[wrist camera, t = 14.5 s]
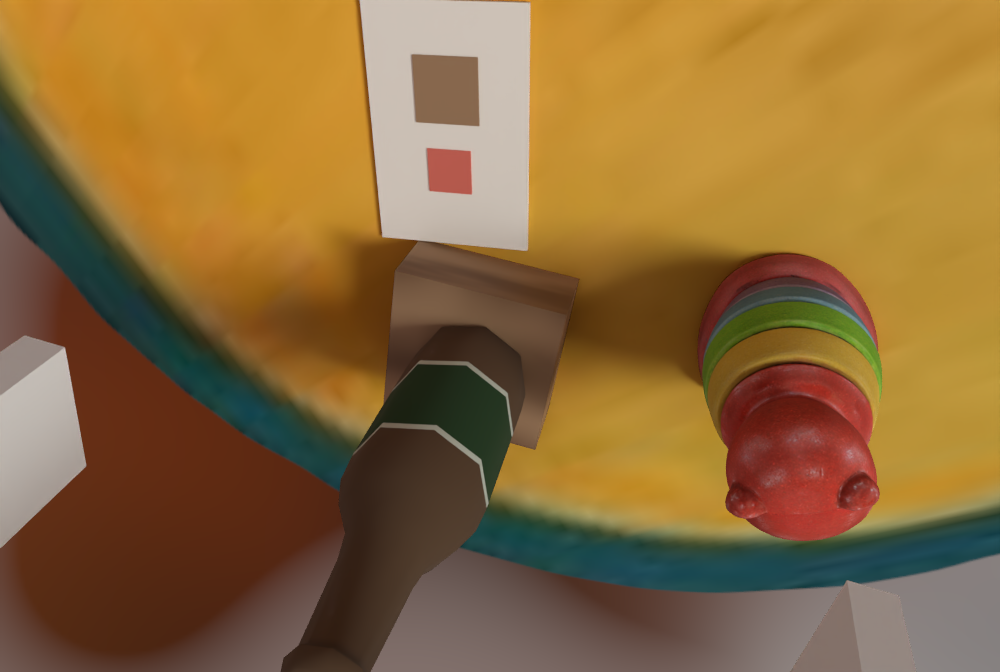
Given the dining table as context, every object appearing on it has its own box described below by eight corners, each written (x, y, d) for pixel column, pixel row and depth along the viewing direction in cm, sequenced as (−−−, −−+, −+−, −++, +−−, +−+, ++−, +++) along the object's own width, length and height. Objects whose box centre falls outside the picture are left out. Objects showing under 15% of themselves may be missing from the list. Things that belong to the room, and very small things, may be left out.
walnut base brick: (420, 237, 53) (394, 270, 49) (579, 277, 52) (566, 315, 48) (407, 367, 59) (383, 406, 55) (549, 406, 58) (535, 449, 54)
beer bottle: (493, 302, 48) (335, 616, 28) (551, 400, 51) (443, 748, 31) (394, 341, 52) (190, 647, 32) (453, 431, 54) (299, 764, 35)
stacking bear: (703, 392, 54) (693, 597, 39) (685, 259, 49) (667, 434, 34) (876, 384, 50) (938, 604, 36) (876, 239, 46) (945, 424, 31)
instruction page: (361, -3, 46) (358, -2, 45) (530, 2, 43) (529, 3, 43) (384, 235, 53) (381, 237, 53) (528, 249, 51) (526, 251, 51)
